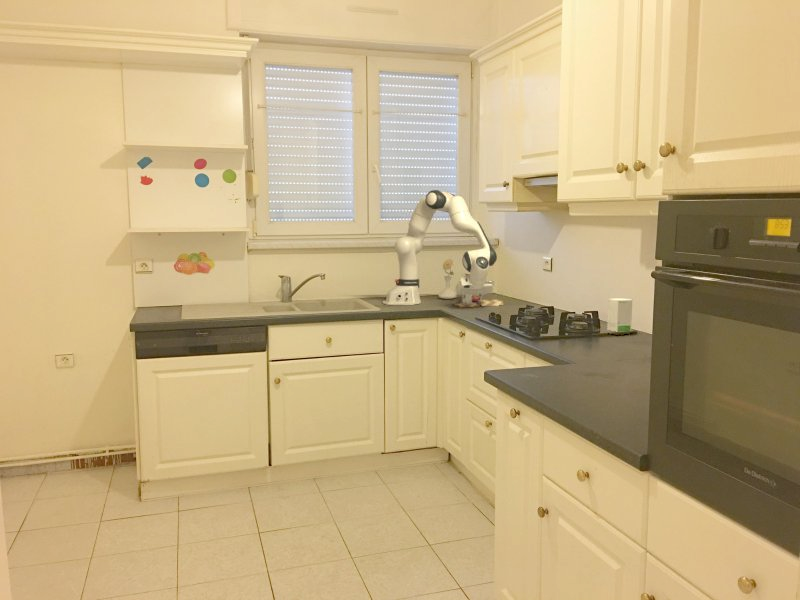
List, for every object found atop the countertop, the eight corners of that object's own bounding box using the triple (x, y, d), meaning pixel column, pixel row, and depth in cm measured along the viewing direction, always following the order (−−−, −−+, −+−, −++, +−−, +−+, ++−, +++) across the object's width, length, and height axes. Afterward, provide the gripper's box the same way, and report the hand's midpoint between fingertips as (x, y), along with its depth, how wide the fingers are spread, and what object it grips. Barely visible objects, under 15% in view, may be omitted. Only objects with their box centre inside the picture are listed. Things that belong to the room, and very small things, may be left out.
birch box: (480, 305, 378) (480, 301, 378) (477, 304, 385) (477, 300, 385) (502, 305, 380) (503, 301, 380) (499, 303, 387) (499, 299, 387)
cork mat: (459, 307, 373) (459, 306, 373) (454, 304, 385) (454, 303, 384) (479, 306, 374) (479, 306, 374) (474, 304, 386) (474, 303, 386)
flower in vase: (435, 298, 414) (436, 257, 411) (452, 297, 417) (453, 257, 414) (443, 300, 401) (443, 259, 398) (460, 299, 405) (461, 258, 402)
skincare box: (616, 336, 285) (617, 300, 283) (605, 333, 291) (607, 298, 289) (631, 335, 288) (633, 299, 286) (620, 332, 294) (622, 297, 292)
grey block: (463, 305, 378) (463, 291, 377) (462, 304, 380) (462, 290, 379) (471, 304, 379) (471, 290, 378) (470, 304, 381) (470, 290, 380)
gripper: (493, 276, 363) (488, 292, 374) (457, 277, 360) (453, 293, 371) (496, 285, 359) (490, 301, 370) (459, 286, 356) (455, 302, 367)
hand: (471, 297), depth 370 cm, fingers open, 8 cm apart
